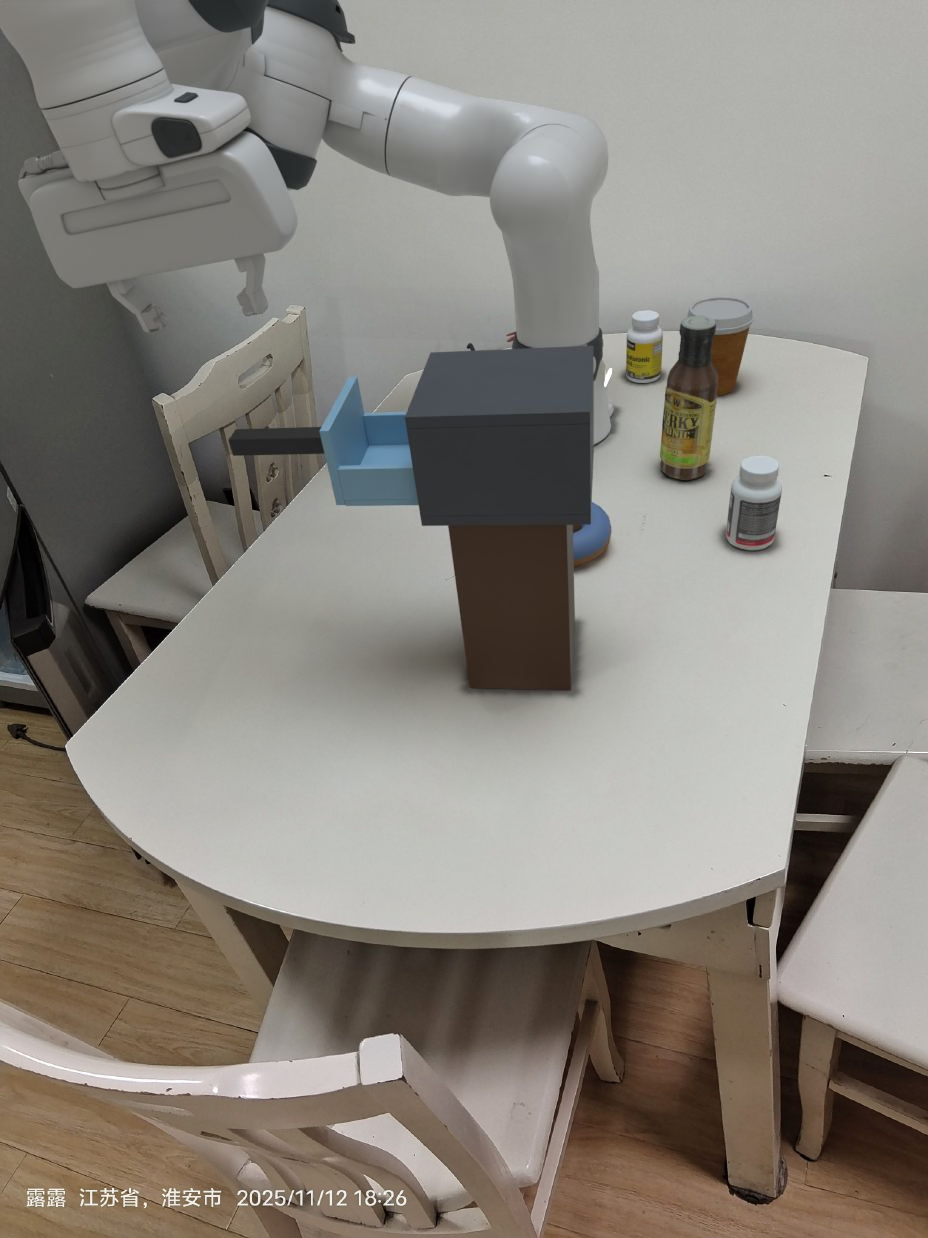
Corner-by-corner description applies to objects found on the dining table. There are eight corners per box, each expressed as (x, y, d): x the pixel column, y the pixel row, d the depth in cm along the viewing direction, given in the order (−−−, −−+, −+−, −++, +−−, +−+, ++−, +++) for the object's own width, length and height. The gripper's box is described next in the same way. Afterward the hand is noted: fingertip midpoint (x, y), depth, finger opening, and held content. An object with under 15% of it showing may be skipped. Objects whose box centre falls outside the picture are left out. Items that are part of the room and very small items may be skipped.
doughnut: (553, 583, 96) (551, 550, 93) (512, 540, 103) (509, 508, 100) (628, 554, 99) (629, 521, 96) (582, 515, 106) (582, 483, 103)
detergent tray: (226, 507, 74) (201, 434, 70) (261, 450, 82) (242, 380, 77) (485, 504, 70) (477, 426, 66) (498, 444, 78) (492, 371, 73)
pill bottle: (784, 539, 98) (796, 464, 92) (751, 557, 96) (761, 482, 90) (747, 520, 102) (757, 446, 96) (715, 537, 100) (723, 463, 94)
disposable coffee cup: (668, 383, 131) (672, 305, 124) (720, 367, 134) (727, 290, 126) (705, 406, 124) (712, 326, 117) (759, 389, 127) (770, 309, 119)
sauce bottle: (649, 472, 112) (656, 323, 99) (678, 453, 115) (688, 306, 102) (690, 488, 108) (703, 335, 95) (719, 468, 111) (735, 317, 98)
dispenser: (448, 694, 84) (404, 416, 65) (464, 616, 93) (430, 352, 74) (591, 698, 82) (590, 411, 63) (594, 617, 91) (593, 345, 72)
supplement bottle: (618, 379, 134) (619, 317, 128) (638, 366, 137) (640, 305, 131) (648, 387, 131) (650, 324, 125) (667, 373, 134) (671, 311, 128)
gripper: (-18, 176, 61) (82, 355, 70) (229, 115, 55) (304, 319, 64) (31, 150, 66) (119, 321, 75) (264, 91, 60) (330, 285, 69)
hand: (206, 320), depth 69 cm, fingers open, 8 cm apart
